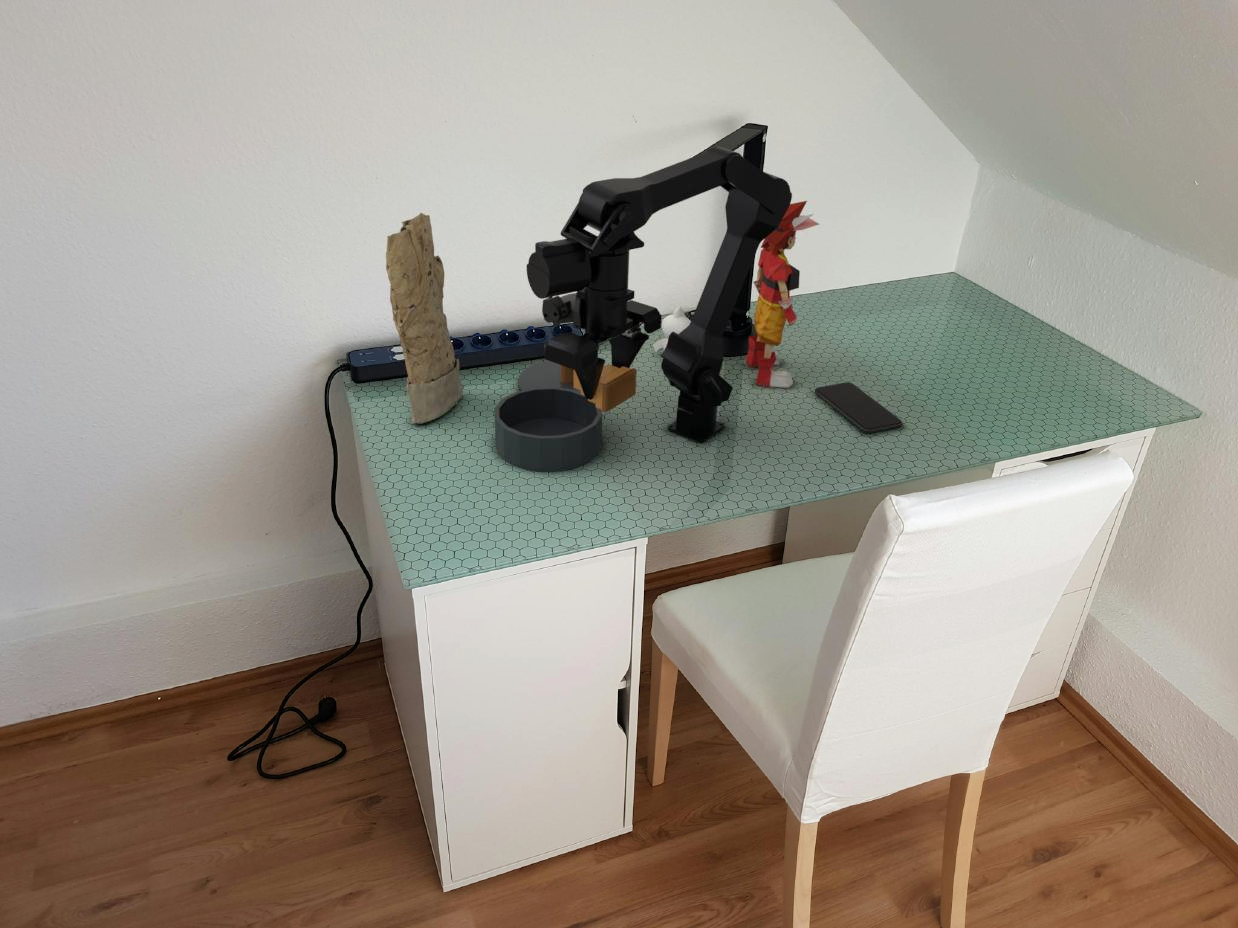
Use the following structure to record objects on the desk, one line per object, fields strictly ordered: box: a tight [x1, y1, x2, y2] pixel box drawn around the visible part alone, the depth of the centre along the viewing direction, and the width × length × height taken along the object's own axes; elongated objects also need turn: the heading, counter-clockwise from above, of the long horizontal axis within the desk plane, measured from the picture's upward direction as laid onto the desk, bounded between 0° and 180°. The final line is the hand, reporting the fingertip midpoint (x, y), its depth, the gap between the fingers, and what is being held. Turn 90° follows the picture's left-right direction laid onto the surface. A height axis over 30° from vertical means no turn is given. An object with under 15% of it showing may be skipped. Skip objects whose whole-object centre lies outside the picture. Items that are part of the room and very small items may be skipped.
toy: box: [744, 200, 820, 389], centre depth 159 cm, size 12×9×30 cm
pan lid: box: [517, 360, 581, 392], centre depth 159 cm, size 16×16×5 cm
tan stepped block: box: [574, 363, 637, 414], centre depth 136 cm, size 8×7×4 cm
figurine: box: [652, 305, 691, 353], centre depth 166 cm, size 12×5×11 cm, turn 33°
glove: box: [385, 212, 464, 424], centre depth 147 cm, size 14×10×30 cm
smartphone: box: [814, 381, 904, 434], centre depth 156 cm, size 7×1×15 cm
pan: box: [493, 387, 603, 473], centre depth 143 cm, size 15×15×6 cm
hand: (603, 390), depth 136 cm, fingers closed on tan stepped block, 6 cm apart
